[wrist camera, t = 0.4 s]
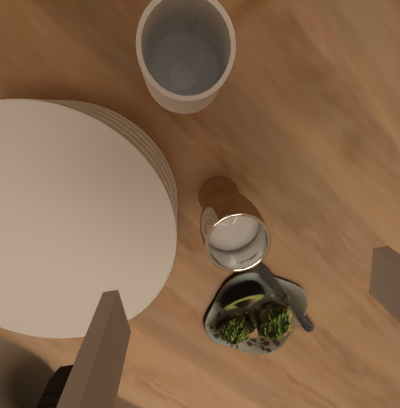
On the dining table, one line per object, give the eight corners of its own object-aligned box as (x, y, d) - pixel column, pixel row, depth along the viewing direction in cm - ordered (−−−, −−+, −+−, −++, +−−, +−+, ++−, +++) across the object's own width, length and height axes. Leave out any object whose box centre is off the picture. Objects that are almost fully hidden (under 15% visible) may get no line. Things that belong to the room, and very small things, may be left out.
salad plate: (333, 288, 49) (348, 306, 45) (282, 358, 54) (290, 380, 50) (239, 250, 45) (245, 266, 41) (193, 329, 50) (194, 351, 46)
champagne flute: (184, 41, 34) (193, -83, 11) (219, 86, 36) (284, 57, 13) (145, 79, 35) (82, 36, 12) (180, 121, 37) (181, 149, 14)
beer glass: (190, 179, 40) (195, 221, 26) (236, 168, 40) (267, 203, 26) (201, 222, 42) (211, 281, 28) (245, 211, 42) (277, 265, 28)
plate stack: (101, 310, 47) (78, 372, 36) (-60, 208, 39) (-151, 247, 28) (216, 196, 41) (228, 229, 31) (54, 49, 33) (-6, 23, 23)
